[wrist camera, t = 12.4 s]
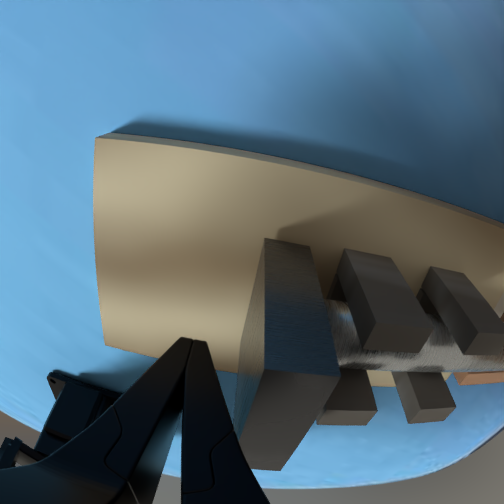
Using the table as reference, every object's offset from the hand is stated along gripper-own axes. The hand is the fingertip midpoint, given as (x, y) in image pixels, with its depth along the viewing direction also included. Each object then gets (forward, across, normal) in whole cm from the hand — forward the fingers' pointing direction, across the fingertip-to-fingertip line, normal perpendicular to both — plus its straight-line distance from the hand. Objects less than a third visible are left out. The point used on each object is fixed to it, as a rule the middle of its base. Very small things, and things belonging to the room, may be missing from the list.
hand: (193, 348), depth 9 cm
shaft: (+3, -8, 0) cm, 9 cm away
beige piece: (+5, -5, 0) cm, 7 cm away
